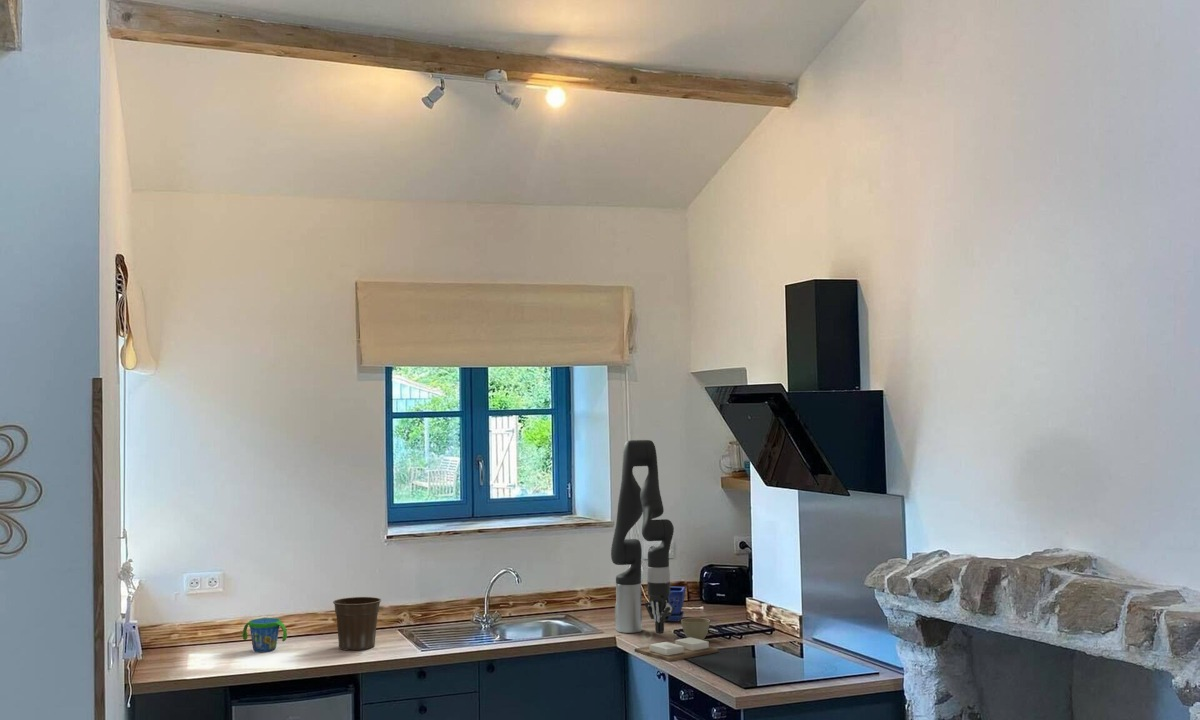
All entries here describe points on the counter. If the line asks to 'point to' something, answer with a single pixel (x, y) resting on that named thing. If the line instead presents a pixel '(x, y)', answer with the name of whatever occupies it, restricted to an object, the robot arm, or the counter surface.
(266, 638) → the snack cup
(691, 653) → the board
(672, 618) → the flower pot
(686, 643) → the tile far
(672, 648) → the tile near
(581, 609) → the counter surface
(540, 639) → the counter surface
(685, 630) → the flower pot
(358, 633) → the plant pot
